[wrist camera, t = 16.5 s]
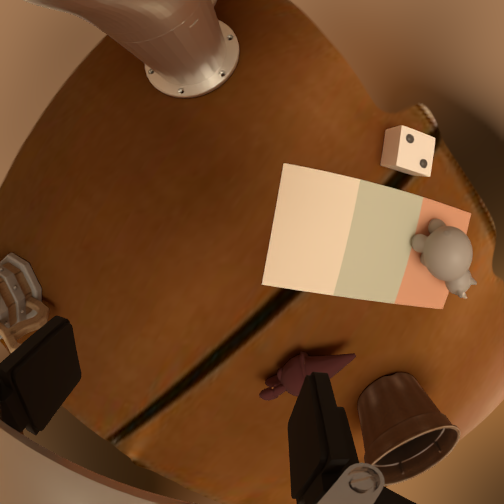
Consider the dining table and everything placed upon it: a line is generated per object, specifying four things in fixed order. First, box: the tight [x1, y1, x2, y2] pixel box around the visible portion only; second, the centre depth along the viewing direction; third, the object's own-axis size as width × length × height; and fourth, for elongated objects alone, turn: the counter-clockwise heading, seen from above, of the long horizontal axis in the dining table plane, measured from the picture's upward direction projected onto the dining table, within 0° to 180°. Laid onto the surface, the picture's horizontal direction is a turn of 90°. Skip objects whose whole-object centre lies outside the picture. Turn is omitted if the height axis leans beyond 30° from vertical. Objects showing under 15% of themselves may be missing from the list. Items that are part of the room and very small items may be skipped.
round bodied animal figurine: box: [412, 218, 477, 298], centre depth 32 cm, size 7×12×8 cm, turn 37°
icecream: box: [259, 352, 356, 400], centre depth 39 cm, size 7×7×15 cm
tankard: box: [0, 253, 49, 353], centre depth 35 cm, size 20×13×15 cm, turn 70°
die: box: [380, 125, 435, 177], centre depth 31 cm, size 5×5×5 cm
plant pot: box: [358, 372, 460, 486], centre depth 37 cm, size 16×16×16 cm
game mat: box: [262, 163, 471, 309], centre depth 37 cm, size 16×30×1 cm, turn 81°
